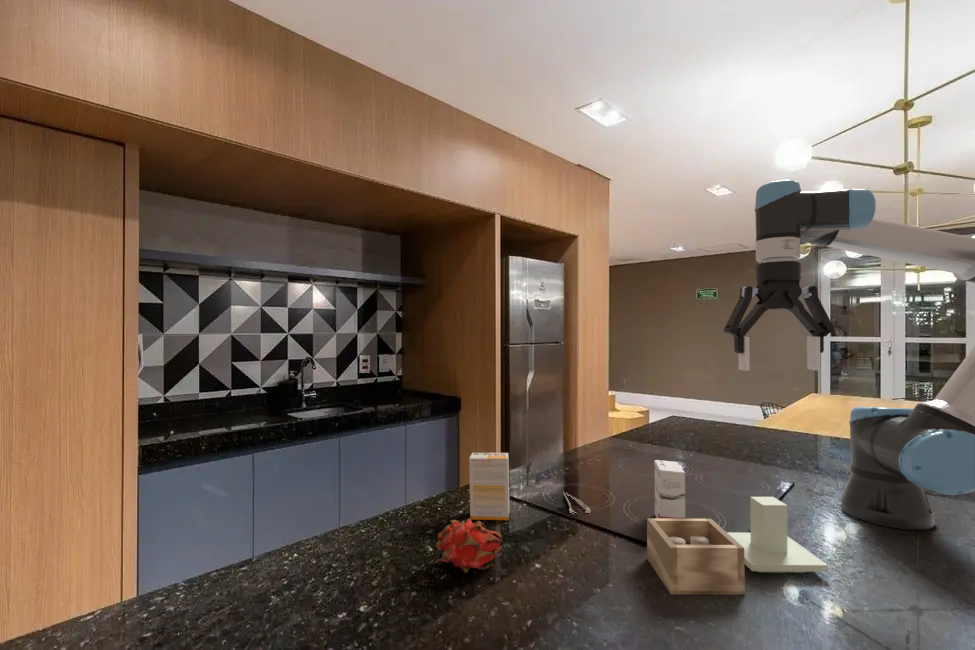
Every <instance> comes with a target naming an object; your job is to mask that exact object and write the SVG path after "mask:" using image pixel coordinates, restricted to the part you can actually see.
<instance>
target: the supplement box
mask: <svg viewBox="0 0 975 650" xmlns="http://www.w3.org/2000/svg"><path fill="white" fill-rule="evenodd" d="M468 460H469V461H468V462H469V512H470V513H469V516H470V517H469V519H471V521H475V520H476V521H481V520H483V521H507V522H508V521H509V518H510V466H509V465H510V463H509V461H510V460H509V452H471V454H470V456H469V458H468Z"/></svg>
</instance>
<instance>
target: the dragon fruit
mask: <svg viewBox="0 0 975 650" xmlns="http://www.w3.org/2000/svg"><path fill="white" fill-rule="evenodd" d="M472 521H473V520H471V518H467V519H465V520H464V519H463V520H462V521H460V520H457V519H452V520H450V523H449V524H448V525H445V526H444V527H443V528H444V529H442V530H441V532H438V534H437V541H436V542H435V546H436V548H437V549H438V550H439V551H443V555H442V553H441V552H440V553H439V555H438V560H440V561H441V562H442V563H443V562H445V563H449V562H450V561H451V562H452V565H453V567H454V566H455V567H456V568H458V567H459V568H460V570H461V571H462V572H463V574H467V573H469V570H470V568H471V569H479V570H481V571H484V570H487V569H488V568H490V567H492V566H493V563H491V562H490V561H492V560H494V559H495V557H496V556H498V555H499V552H500V551H501V550H502V549H503V547H504V545H505V544H506V540H505V539H504V537H503V535H502V534H501V533H500V532H499V531H495V530H491V529H487V528H486V526H485V523H484V522H481V520H476V522H474V523H473V522H472ZM502 540H503V541H502ZM488 562H490V563H488ZM455 567H454V568H455ZM456 568H455V569H456Z"/></svg>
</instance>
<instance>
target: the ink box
mask: <svg viewBox="0 0 975 650" xmlns="http://www.w3.org/2000/svg"><path fill="white" fill-rule="evenodd" d="M654 515H655V518H668V519H686V472H685V471H684V469H683V468H682V467H681V465H680V463H679V462H678V461H672V460H671V461H670V460H660V459H655V460H654Z"/></svg>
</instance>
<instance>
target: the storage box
mask: <svg viewBox="0 0 975 650" xmlns="http://www.w3.org/2000/svg"><path fill="white" fill-rule="evenodd" d="M646 523H647V524H646V540H647V543H646V548H647V549H646V550H647V551H646V554H647V561H648V562H649V563H650V566H651V567H652V568H653V570H654V571H655V573H656V575H657V576H658V578H660V579H659V580H661V582H662V583H663V585H664V586H665V588H666V590H667V591H668V592H669V594H670V595H678V596H679V595H683V596H684V595H685V596H686V595H695V596H697V595H698V596H699V595H700V596H701V595H703V596H704V595H708V596H713V595H714V596H716V595H717V596H724V595H725V596H726V595H727V596H738V595H739V596H744V595H746V593H745V592H746V591H745V589H746V588H745V579H746V578H745V576H746V574H745V564H744V547H743V546H741V545H740V544H739V543H738V542H737V541H736V540H735V539H734V538H732V537H731V536H730V535H729V534H728V533H727V531H726V530H725V529H723V528H722V527H721V526H720V525H719V524H718V523H717V522H716V521H714V519H712V518H685V519H668V518H656V517H655V518H651V517H650V518H649V517H648V518H646Z"/></svg>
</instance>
